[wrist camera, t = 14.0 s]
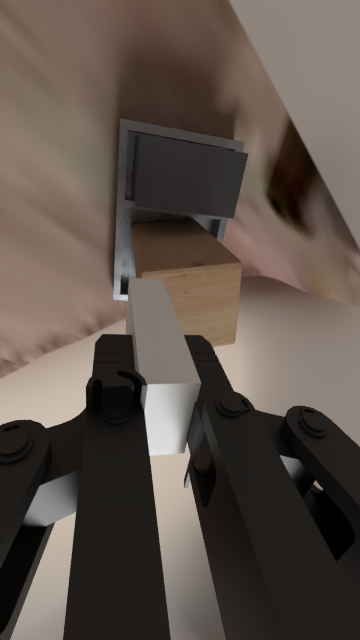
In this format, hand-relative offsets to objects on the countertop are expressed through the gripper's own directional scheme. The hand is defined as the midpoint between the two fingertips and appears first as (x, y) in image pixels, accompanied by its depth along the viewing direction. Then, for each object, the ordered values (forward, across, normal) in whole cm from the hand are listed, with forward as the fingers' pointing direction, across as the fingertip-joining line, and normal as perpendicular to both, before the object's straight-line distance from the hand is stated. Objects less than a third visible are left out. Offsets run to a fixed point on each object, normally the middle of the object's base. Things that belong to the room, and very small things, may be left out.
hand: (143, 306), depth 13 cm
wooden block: (+34, +7, -8) cm, 35 cm away
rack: (+34, +7, -3) cm, 35 cm away
